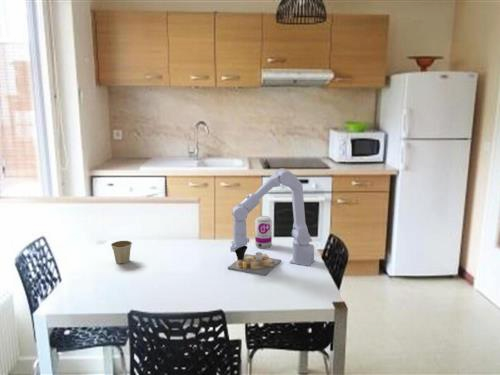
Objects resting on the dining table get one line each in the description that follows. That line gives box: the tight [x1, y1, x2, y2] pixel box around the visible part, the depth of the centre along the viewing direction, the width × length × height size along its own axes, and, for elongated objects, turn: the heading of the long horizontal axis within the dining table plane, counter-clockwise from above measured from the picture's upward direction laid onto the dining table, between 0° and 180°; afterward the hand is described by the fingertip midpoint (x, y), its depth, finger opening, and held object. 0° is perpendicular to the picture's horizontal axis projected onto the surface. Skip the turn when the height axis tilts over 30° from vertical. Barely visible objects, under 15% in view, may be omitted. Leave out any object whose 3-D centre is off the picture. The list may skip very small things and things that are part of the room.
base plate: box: [227, 251, 282, 277], centre depth 194 cm, size 18×18×6 cm
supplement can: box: [254, 215, 273, 249], centre depth 218 cm, size 8×8×15 cm
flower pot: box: [110, 240, 133, 265], centre depth 200 cm, size 9×9×9 cm
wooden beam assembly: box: [236, 253, 273, 269], centre depth 192 cm, size 15×10×2 cm, turn 108°
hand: (240, 261), depth 193 cm, fingers closed
